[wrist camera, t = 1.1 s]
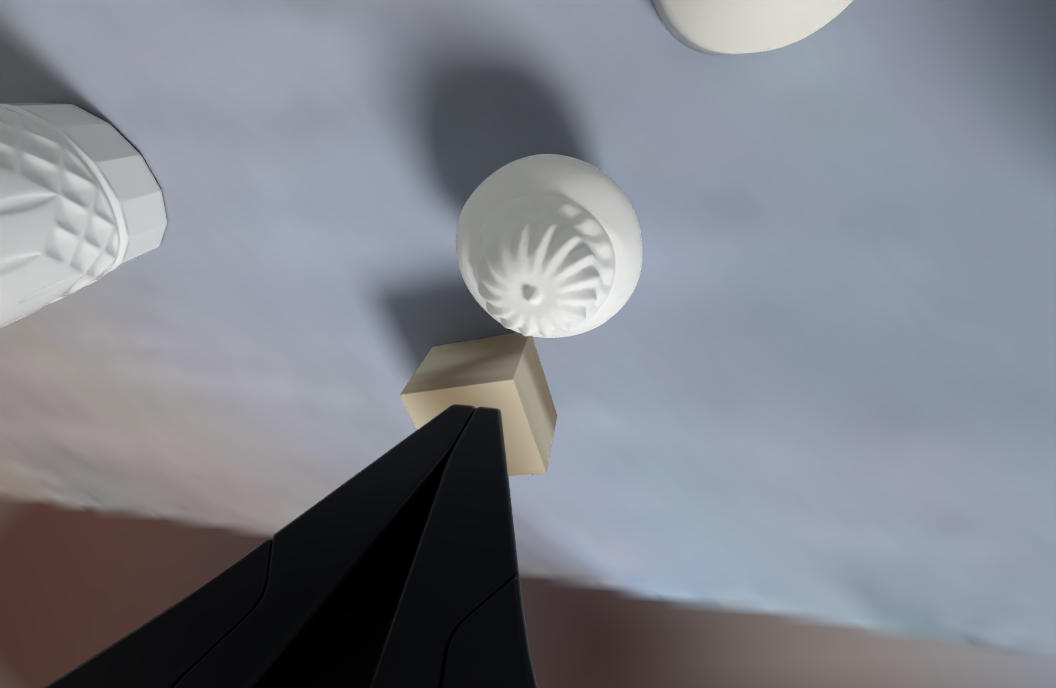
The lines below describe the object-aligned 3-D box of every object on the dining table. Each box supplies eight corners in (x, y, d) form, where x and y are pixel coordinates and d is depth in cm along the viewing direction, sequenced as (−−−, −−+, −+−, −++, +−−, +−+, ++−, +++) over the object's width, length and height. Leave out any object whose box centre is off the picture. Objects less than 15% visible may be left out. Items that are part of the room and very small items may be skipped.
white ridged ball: (670, 178, 17) (697, 240, 11) (599, 315, 20) (589, 421, 14) (510, 110, 16) (447, 137, 10) (465, 261, 20) (398, 345, 14)
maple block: (530, 328, 21) (513, 379, 18) (557, 413, 23) (546, 473, 20) (433, 345, 22) (400, 394, 19) (467, 423, 25) (443, 480, 21)
